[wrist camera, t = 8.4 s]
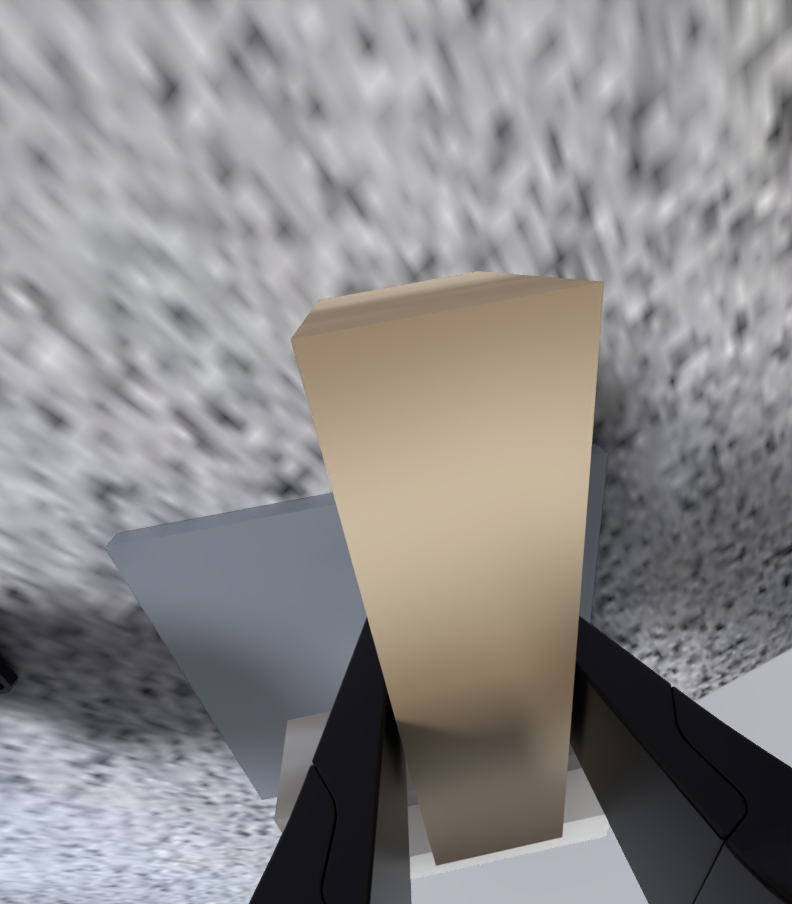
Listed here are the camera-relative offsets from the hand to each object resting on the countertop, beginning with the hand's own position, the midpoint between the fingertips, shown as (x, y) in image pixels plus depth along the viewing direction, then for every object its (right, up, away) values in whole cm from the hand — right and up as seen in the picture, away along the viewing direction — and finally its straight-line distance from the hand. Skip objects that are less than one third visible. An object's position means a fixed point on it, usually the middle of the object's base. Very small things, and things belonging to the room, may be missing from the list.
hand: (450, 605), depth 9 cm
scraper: (0, +1, +1) cm, 2 cm away
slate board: (-1, -6, +9) cm, 11 cm away
